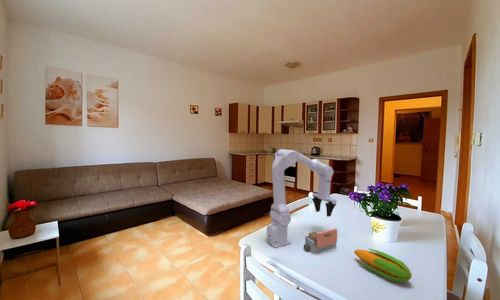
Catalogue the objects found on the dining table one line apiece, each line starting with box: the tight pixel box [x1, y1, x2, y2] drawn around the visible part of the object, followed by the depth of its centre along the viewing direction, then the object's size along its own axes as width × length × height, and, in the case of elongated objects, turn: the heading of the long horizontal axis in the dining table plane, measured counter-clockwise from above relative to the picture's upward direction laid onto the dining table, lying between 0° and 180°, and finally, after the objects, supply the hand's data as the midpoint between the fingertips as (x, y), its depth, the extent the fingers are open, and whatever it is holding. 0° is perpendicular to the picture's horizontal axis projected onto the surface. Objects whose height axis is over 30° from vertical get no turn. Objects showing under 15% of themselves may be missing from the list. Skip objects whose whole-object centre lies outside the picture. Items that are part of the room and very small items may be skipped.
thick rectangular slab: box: [316, 228, 338, 248], centre depth 95 cm, size 11×1×6 cm, turn 117°
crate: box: [308, 231, 318, 246], centre depth 96 cm, size 4×4×4 cm
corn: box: [353, 248, 412, 283], centre depth 81 cm, size 7×8×20 cm
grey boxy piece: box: [303, 235, 337, 254], centre depth 98 cm, size 16×5×6 cm, turn 117°
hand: (323, 213), depth 113 cm, fingers open, 7 cm apart
